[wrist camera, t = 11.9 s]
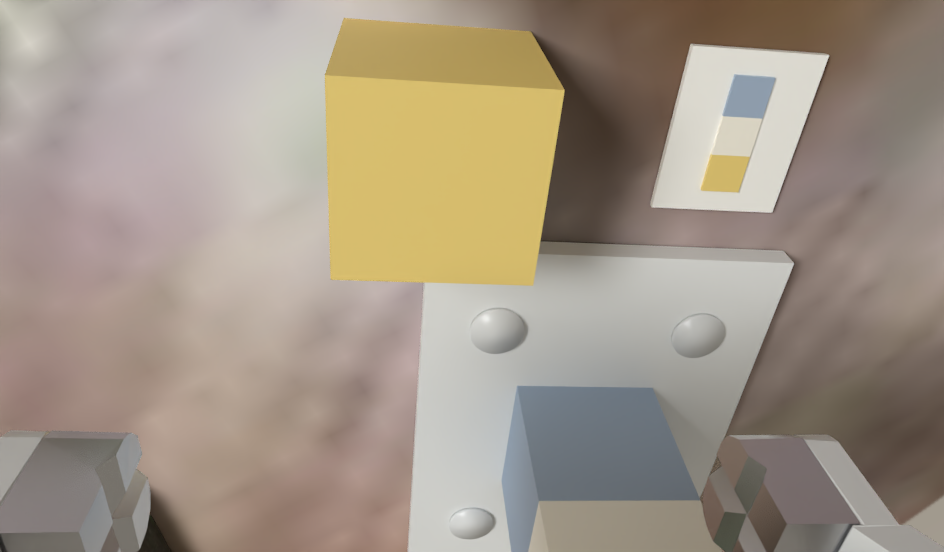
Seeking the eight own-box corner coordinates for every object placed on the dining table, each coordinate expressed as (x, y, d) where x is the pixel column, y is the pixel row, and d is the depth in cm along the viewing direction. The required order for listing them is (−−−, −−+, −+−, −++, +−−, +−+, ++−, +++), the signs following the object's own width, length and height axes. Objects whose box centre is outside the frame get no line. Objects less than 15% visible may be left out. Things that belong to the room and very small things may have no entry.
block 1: (344, 17, 18) (324, 74, 14) (530, 30, 19) (564, 90, 15) (346, 188, 21) (330, 279, 17) (508, 195, 22) (532, 285, 17)
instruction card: (690, 43, 19) (694, 46, 19) (825, 53, 20) (831, 56, 19) (649, 204, 22) (652, 208, 22) (769, 209, 22) (773, 214, 22)
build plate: (425, 236, 22) (426, 253, 21) (783, 250, 23) (797, 266, 22) (407, 550, 31) (407, 571, 30) (668, 547, 32) (675, 566, 31)
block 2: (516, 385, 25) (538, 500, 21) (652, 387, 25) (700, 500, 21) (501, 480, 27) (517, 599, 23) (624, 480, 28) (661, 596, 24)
